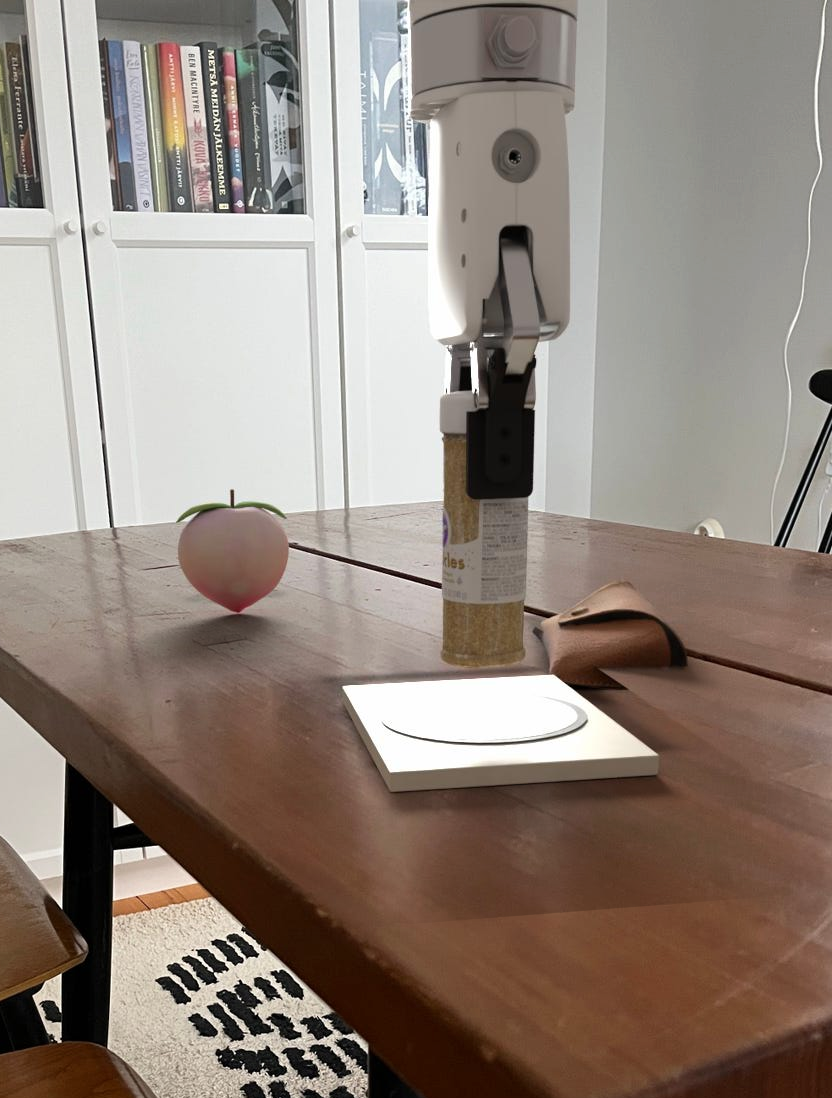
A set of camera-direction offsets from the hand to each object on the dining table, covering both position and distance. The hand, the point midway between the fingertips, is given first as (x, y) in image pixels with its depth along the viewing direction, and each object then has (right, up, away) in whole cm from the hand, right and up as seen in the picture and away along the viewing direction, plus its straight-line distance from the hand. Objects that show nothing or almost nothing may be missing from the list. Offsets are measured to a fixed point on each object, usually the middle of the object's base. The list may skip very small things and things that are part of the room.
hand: (486, 489), depth 63 cm
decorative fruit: (-16, +2, +42) cm, 45 cm away
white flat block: (0, -12, +4) cm, 13 cm away
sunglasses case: (+10, -5, +22) cm, 25 cm away
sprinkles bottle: (0, -8, +3) cm, 9 cm away
